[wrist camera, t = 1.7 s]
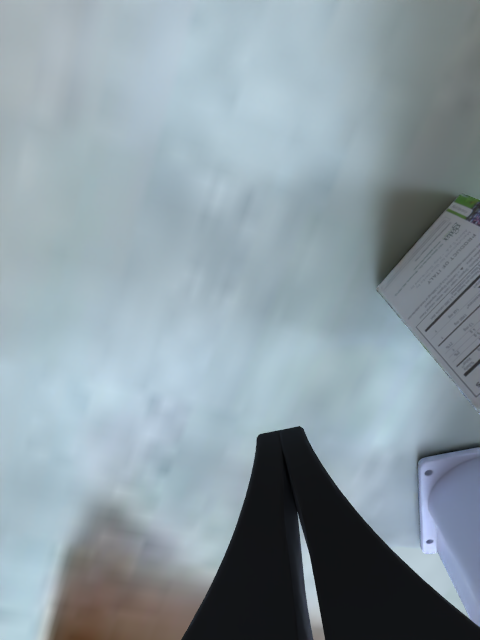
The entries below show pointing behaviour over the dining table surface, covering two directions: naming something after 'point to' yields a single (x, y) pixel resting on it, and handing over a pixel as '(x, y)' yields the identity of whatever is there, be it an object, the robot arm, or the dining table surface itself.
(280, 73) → the dining table surface
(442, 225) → the syrup box
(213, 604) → the robot arm
